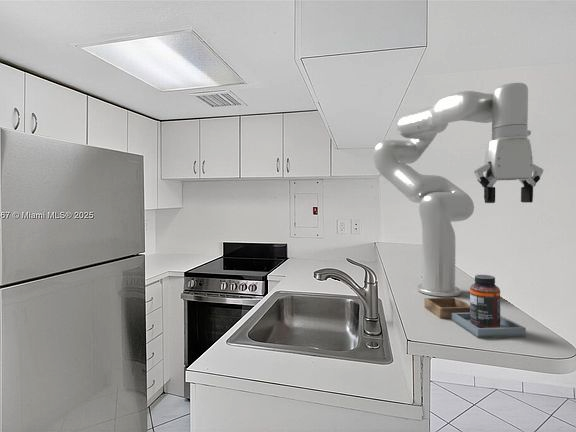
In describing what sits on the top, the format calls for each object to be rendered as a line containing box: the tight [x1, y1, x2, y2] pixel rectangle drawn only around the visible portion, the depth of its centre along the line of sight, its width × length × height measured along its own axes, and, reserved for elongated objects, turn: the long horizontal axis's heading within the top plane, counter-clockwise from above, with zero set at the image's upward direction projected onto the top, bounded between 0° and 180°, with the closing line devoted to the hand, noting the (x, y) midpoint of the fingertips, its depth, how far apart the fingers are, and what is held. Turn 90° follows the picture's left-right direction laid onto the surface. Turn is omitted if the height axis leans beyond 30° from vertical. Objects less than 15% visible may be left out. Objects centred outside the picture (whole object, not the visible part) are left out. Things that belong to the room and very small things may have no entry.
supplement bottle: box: [469, 274, 501, 328], centre depth 75 cm, size 6×6×11 cm
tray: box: [451, 313, 527, 339], centre depth 75 cm, size 10×10×2 cm
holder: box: [423, 296, 470, 319], centre depth 86 cm, size 9×9×2 cm
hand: (508, 202), depth 84 cm, fingers open, 9 cm apart
